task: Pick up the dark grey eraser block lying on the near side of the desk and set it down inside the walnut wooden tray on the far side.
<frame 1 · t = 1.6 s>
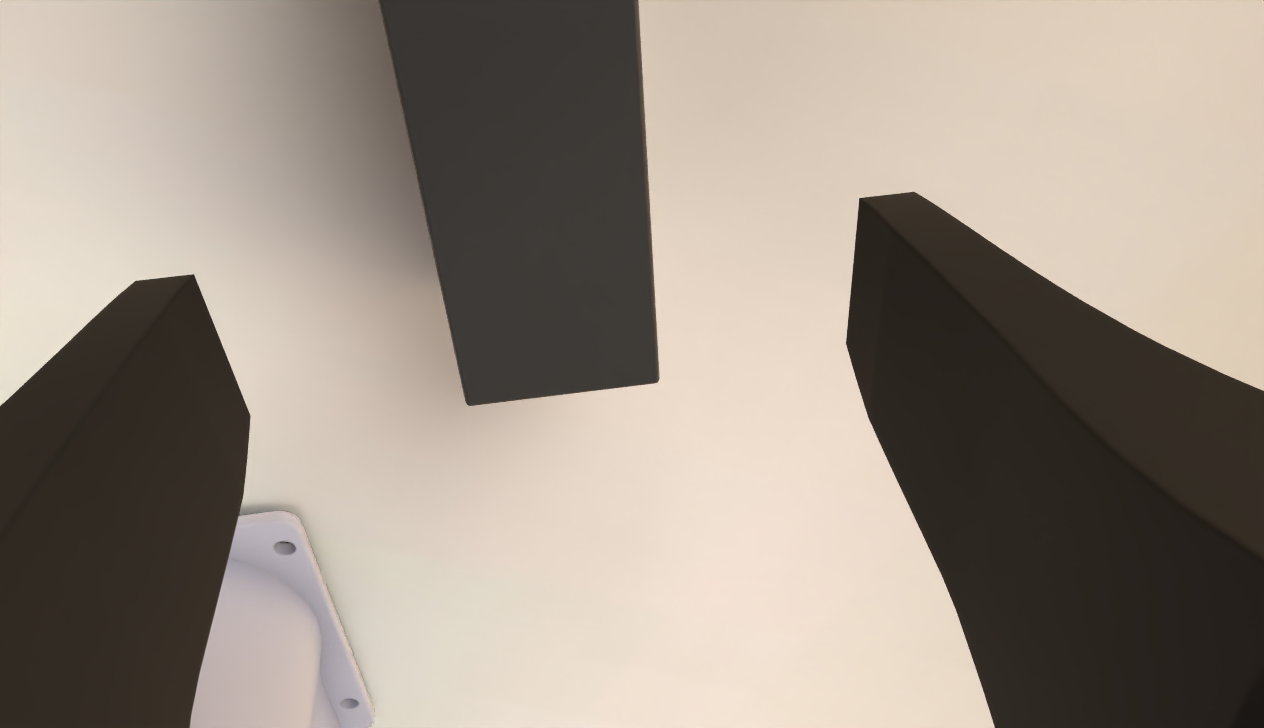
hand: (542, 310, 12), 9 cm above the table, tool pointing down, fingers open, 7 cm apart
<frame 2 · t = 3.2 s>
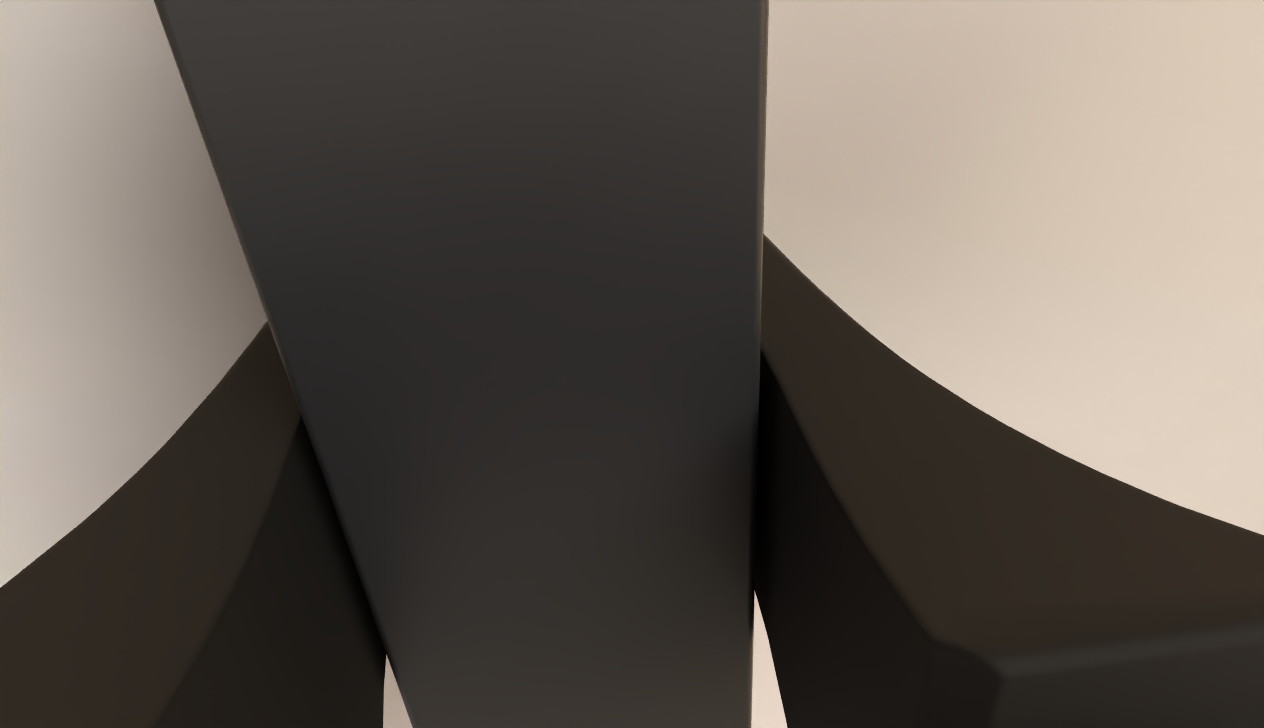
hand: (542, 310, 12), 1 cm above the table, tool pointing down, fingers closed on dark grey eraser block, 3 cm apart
dark grey eraser block: (534, 241, 13), on the table, touching gripper
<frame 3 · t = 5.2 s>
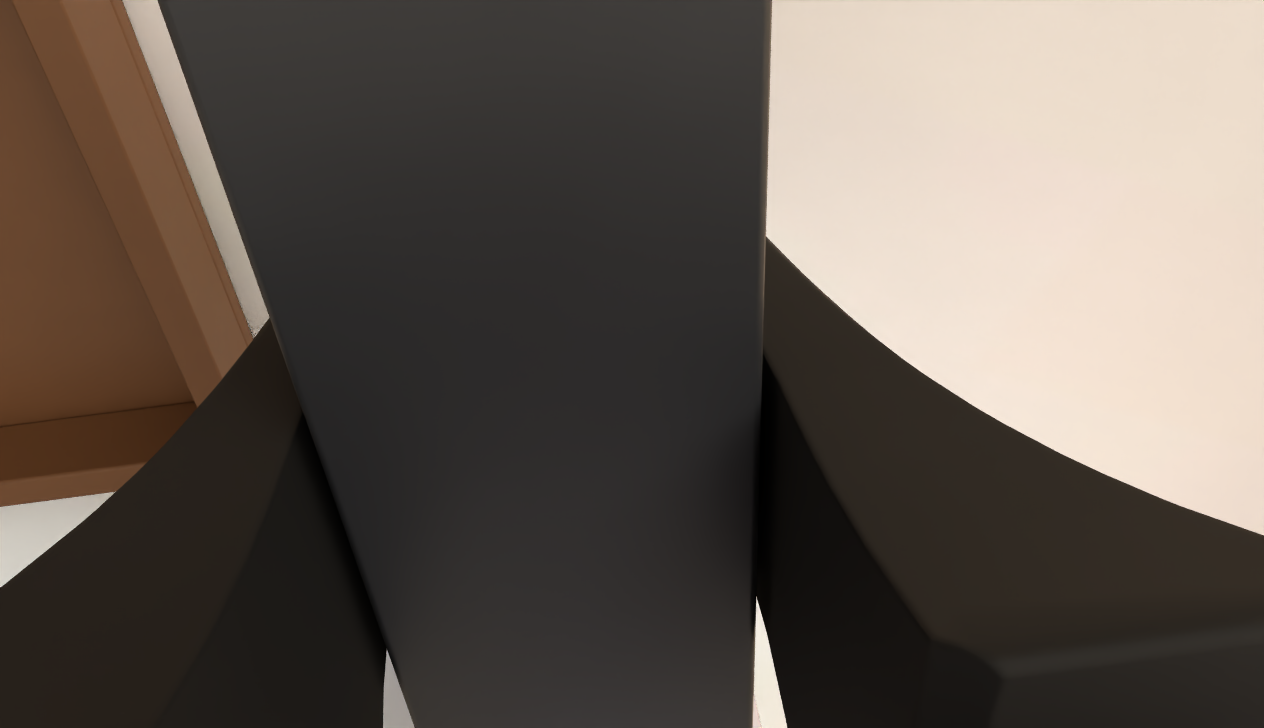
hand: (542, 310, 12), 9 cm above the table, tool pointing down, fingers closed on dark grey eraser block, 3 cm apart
dark grey eraser block: (535, 237, 13), point 7 cm above the table, touching gripper
when the fingers open (2 cm above the table, at t = 8.2 s): dark grey eraser block stays where it is, resting on tray.
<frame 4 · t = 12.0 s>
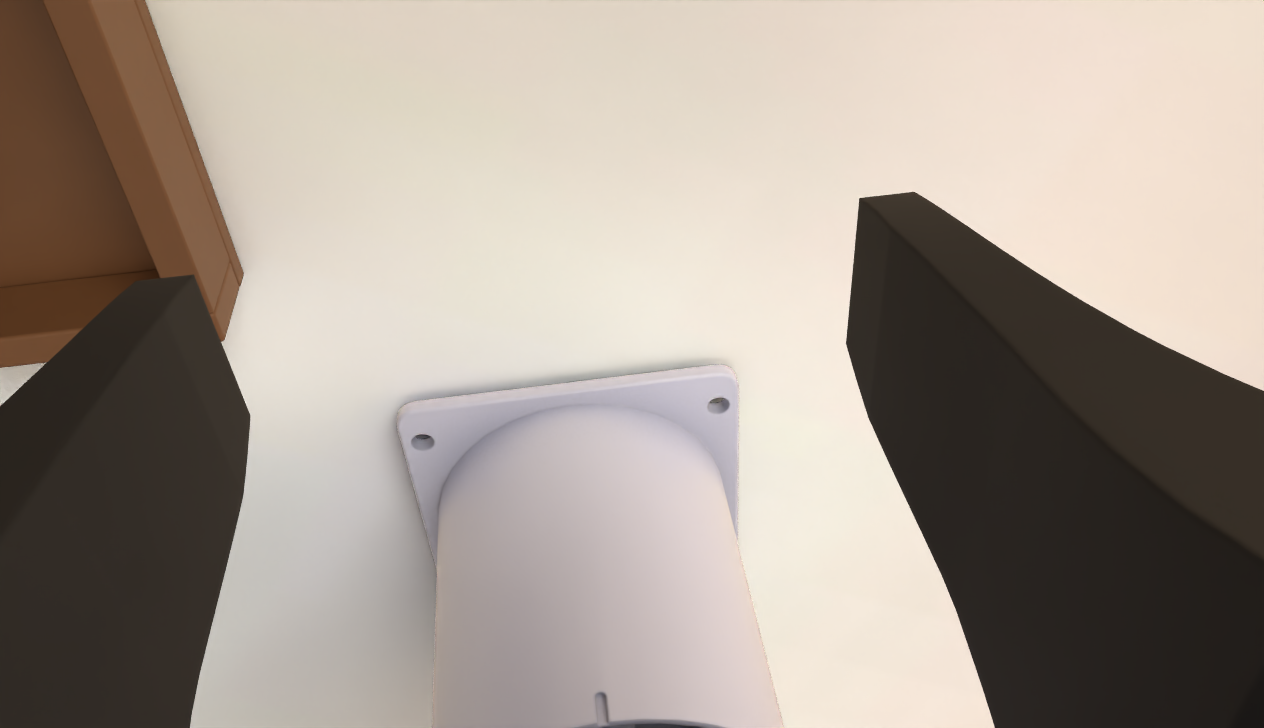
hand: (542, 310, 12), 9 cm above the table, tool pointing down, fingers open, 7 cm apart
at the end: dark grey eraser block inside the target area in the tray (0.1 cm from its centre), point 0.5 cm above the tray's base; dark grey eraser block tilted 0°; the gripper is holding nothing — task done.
